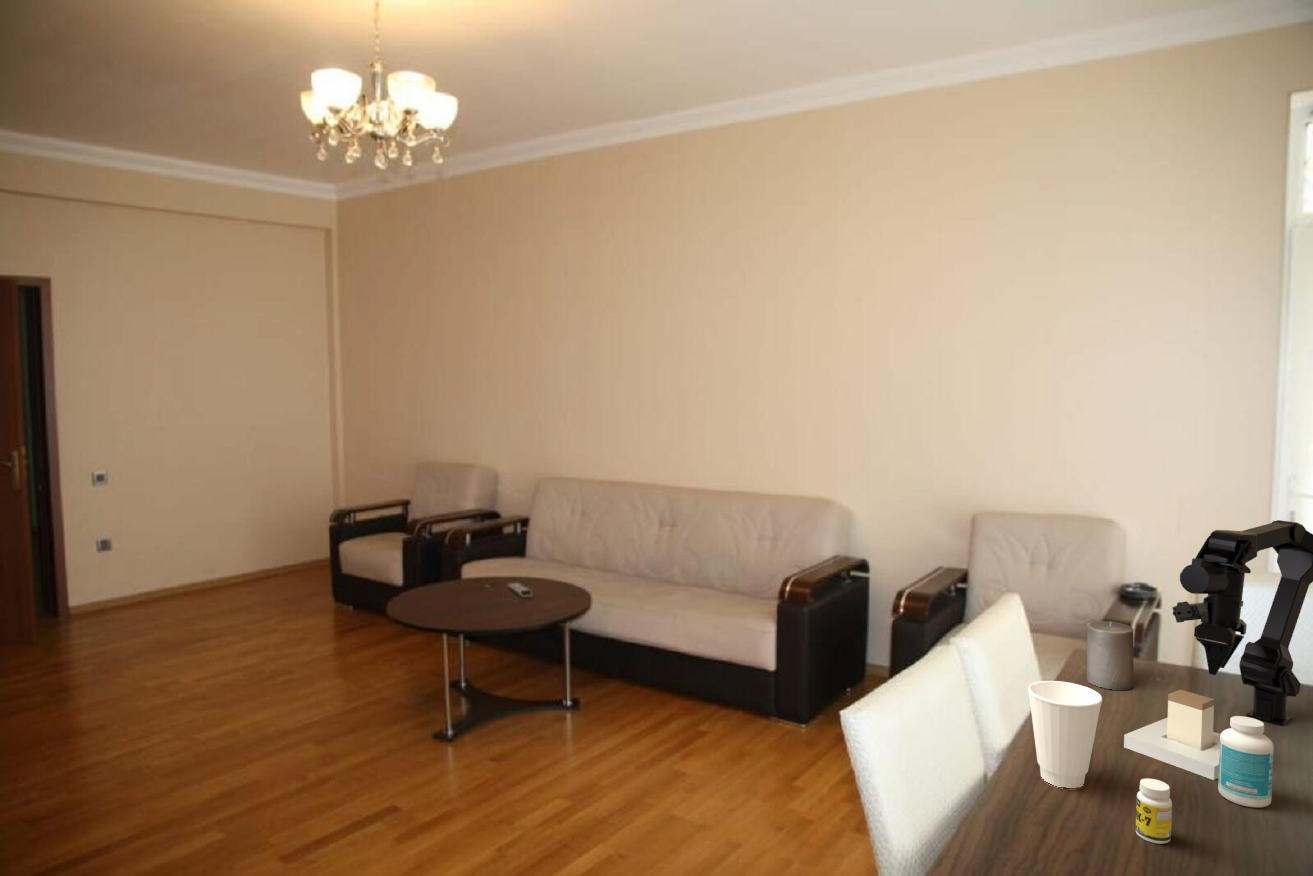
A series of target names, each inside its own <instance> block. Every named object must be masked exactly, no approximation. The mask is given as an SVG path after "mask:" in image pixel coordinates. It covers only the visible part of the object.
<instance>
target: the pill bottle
mask: <svg viewBox="0 0 1313 876" xmlns="http://www.w3.org/2000/svg"><path fill="white" fill-rule="evenodd" d="M1229 722H1230V723H1229V725H1230V727H1229V728H1226V729H1224V730H1223V731H1222V732H1220V734H1221V735H1220V753H1219V778H1218V779H1217V780H1218V781H1217V782H1218V784H1217V785H1218V786H1217V787H1218V788H1217V790H1218V792H1219V794H1220V795H1221V796H1222V797H1223V798H1224V799H1226V800H1227V801H1230V802H1232V803H1234V804H1236V805H1239V806H1245V807H1248V808H1266V807H1268V806H1270V805H1271V803H1272V796H1273V795H1272V794H1273V792H1272V791H1273V773H1274V772H1273V771H1274V770H1273V768H1274V751H1275V749H1274V747H1275V746H1274V743H1273V742H1272V740H1271V739H1270V738H1269V737H1268V736H1266V735H1265V734H1264V732H1265V723H1264V722H1263V721H1262V720H1260V719H1256V718H1253V717H1249V716H1241V715H1234V716H1231V717H1230V720H1229Z"/></svg>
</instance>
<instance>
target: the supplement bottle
mask: <svg viewBox="0 0 1313 876" xmlns="http://www.w3.org/2000/svg"><path fill="white" fill-rule="evenodd" d="M1138 789H1139V791H1138V792H1137V794H1136V804H1135V805H1136V808H1135V809H1136V810H1135V832H1136V835H1137V836H1138V837H1139V838H1141V839H1143V840H1145V841H1147V842H1149V843H1153V844H1161V845H1162V844H1163V845H1164V844H1167V843H1169V842H1170V841H1171V837H1172V819H1173V818H1172V817H1173V816H1172V815H1173V801H1172V799H1171V797H1170V796H1171V790H1170V789H1171V787H1170V785H1169V784H1167V783H1166V782H1164V781H1161V780H1159V779H1154V778H1141V779H1140V782H1139V787H1138Z"/></svg>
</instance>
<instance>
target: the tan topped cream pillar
mask: <svg viewBox="0 0 1313 876" xmlns="http://www.w3.org/2000/svg"><path fill="white" fill-rule="evenodd" d="M1167 696H1168V697H1167V717H1168V721H1167V739H1169V740H1172V741H1175V742H1178V743H1181V744H1184V745H1186V746H1189V747H1192V748H1195V749H1198V750H1201V751H1204V750H1207V749H1209V748H1211V747H1212V746H1213V732H1214V719H1215V717H1214V715H1215V699H1214V698H1211V697H1207V696H1204V695H1200V694H1197V693H1193V692H1191V691H1187V690H1183V689H1178V690H1176V691H1173V692H1171V693H1170V692H1169V693H1168V695H1167Z"/></svg>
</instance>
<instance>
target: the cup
mask: <svg viewBox="0 0 1313 876" xmlns="http://www.w3.org/2000/svg"><path fill="white" fill-rule="evenodd" d="M1027 692H1028V695H1029V696H1028V697H1029V704H1030V712H1031V721H1032V729H1033V736H1034V744H1035V752H1036V753H1035V754H1036V760H1037V761H1036V762H1037V764H1038V766H1039V771H1040V777H1042V778H1041V780H1042V779H1044V781H1046V782H1048V783H1050V784H1052V785H1054V786H1053V787H1055V786H1057V787H1056V788H1058V787H1066V788H1076V787H1081V786H1083V787H1084V785H1085V779H1086V774H1087V773H1088V772H1089V768H1090V762H1091V757H1092V753H1093V747H1094V742H1095V739H1096V738H1095V737H1096V733H1097V731H1096V730H1097V726H1098V721H1099V717H1100V710H1101V705H1102V702H1103V697H1102V695H1101V694H1100V693H1099V692H1097V691H1096V690H1094V689H1092V688H1090V687H1087V686H1083V685H1081V684H1076V683H1073V682H1067V681H1058V680H1041V681H1035V682H1033V683H1031V684H1029V686H1028V687H1027ZM1044 781H1043V782H1044ZM1046 782H1045V783H1046ZM1048 783H1047V784H1048ZM1050 784H1049V785H1050ZM1083 784H1084V785H1083ZM1052 785H1051V786H1052ZM1081 788H1082V787H1081Z"/></svg>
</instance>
